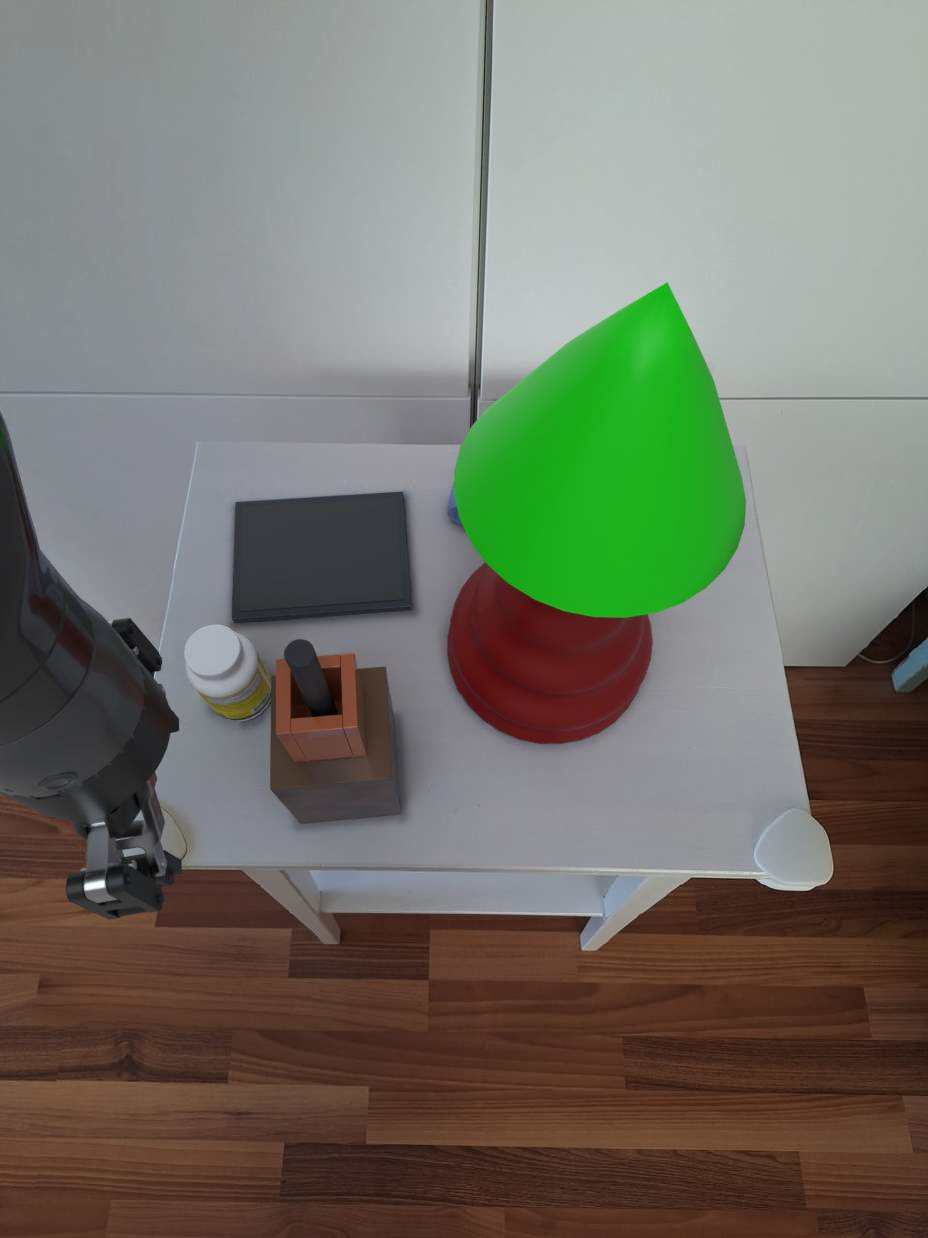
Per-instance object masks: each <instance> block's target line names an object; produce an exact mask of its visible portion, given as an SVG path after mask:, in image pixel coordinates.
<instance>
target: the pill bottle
mask: <svg viewBox="0 0 928 1238" xmlns="http://www.w3.org/2000/svg"><path fill="white" fill-rule="evenodd" d="M183 657H184V661H185V675H186V677H187V679H188V681H189V683H190V685H191V686H192V688H193V689H194V690H195V691H196V692H197V694H198V695H199V696H200V697H201V698H202V700H204V701H205V703H206V704H207V705H208V706H209V707H210V709H211V710H212V711H213V712H215V713H216V714H217V715H218V716H219V717H221V718H222V719H223V720H227V721H230V722H235V723H236V722H238V723H239V722H240V723H241V722H246V721H250V720H252V719H255V718H256V717H258V716H259V715H261V714H262V713H263V712H264V711H265V710H266V709H267V708H268V707H269V705H270V704H271V676H272V675H271V674H270V672H269V671H268V669H267V667H266V666H265V663H264V661H263V660H262V657H261V656H260V655H259V653H258V651H257V650H256V648H255V645H253V642H251V641H250V639H248V637H246V636H245V635H243V634H241V633H238V632H236V631H234V630H233V629H231V628H230V627H228V626H226V625H223V624H208V625H204V626H202V627H200V628H198V629H196V631H194V632H193V633H192V634H191V635H190V636H189V638H188V639H187V641H186V643H185V645H184V650H183Z"/></svg>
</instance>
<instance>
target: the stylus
mask: <svg viewBox="0 0 928 1238" xmlns="http://www.w3.org/2000/svg"><path fill="white" fill-rule="evenodd" d="M317 656H318V655H317V652H316V650H315V647H314V644H312V643H311V641H309V640H307V639H304V638H297V639H293V640H291V641H290V642H289V643H288V644H287V645H286V646H285V648H284V652H283V657H284V658H285V660H286V662H287V664H288V666H289V668H290V670H291V673H292V675H293V677H294V679H295V681H296V683H297V685H298V687H299V689H300V691H301V694H302V696H303V698H304V700H305V702H306V704H307V706H308V708H309V710H310V712H311V715H312V717H318V716H330V715H339V714H338V711H337V708H336V706H335V703H334V700H333V698H332V695H331V692H330V690H329V687H328V684H327V682H326V679H325V676H324V673H323V671H322V668H321V665H320V663H319V660H318V657H317Z"/></svg>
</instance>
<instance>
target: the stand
mask: <svg viewBox="0 0 928 1238" xmlns="http://www.w3.org/2000/svg"><path fill="white" fill-rule="evenodd" d="M358 669H359V673H360V676H361V680H362V684H363V688H364V701H365V723H366V745H367V757H358V758H347V759H336V760H324V761H313V762H301V763H295V762H294V761H293V759H292V758H291V756H290V755H289V753H288V752H287V750H286V749H285V747H284V746H283V744H282V743H281V741H280V740H279V738H278V737H277V735H276V674H274V675H273V674H272V675H270V676H271V701H270V748H269V749H270V755H269V758H270V761H269V763H270V764H269V765H270V767H269V768H270V769H269V770H270V771H269V772H270V773H269V789H270V791H271V792H272V793H273V795H275V797H276V798H277V799H278V800H279V801H280V802H281V803H282V804H283V806H284V807H285V808H286V809H287V810H288V812H290V813H291V815H292V816H293V817H294V818H295V819H296V820H297V821H298V823H299V824H301V825H304V824H314V823H326V822H338V821H347V820H359V819H369V818H379V817H391V816H400V815H401V801H400V800H401V799H400V784H399V768H398V753H397V752H398V751H397V750H398V749H397V737H396V721H395V713H394V709H393V707H394V706H393V702H392V695H391V690H390V683H389V678H388V672H387V667H386V666H374V667H362V668H358Z"/></svg>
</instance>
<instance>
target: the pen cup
mask: <svg viewBox="0 0 928 1238" xmlns="http://www.w3.org/2000/svg"><path fill="white" fill-rule="evenodd" d="M317 657H318V660H319V663H320V665H321V668H322V671H323V673H324V676H325V679H326V682H327V684H328V687H329V690H330V692H331V695H332V698H333V700H334V703H335V706H336V708H337V711H338V714H339V715H330V716H318V717H312V715H311V712H310V710H309V708H308V706H307V704H306V702H305V700H304V698H303V696H302V694H301V691H300V689H299V687H298V685H297V683H296V681H295V679H294V677H293V675H292V673H291V670H290V668H289V666H288V664H287V662H286V660H285V657H284V658H275V659H276V660H275V675H276V735H277V737H278V738H279V740H280V741H281V743H282V744H283V746H284V747H285V749H286V750H287V752H288V753H289V755H290V756H291V758H292V759H293V761H294V762H295V763H301V762H313V761H324V760H336V759H347V758H358V757H367V745H366V723H365V701H364V688H363V684H362V680H361V676H360V673H359V669H360V668H359V665H358V661H357V658H356V654H355V652H351V653H349V652H348V653H338V654H336V653H335V654H324V655H317Z"/></svg>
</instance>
